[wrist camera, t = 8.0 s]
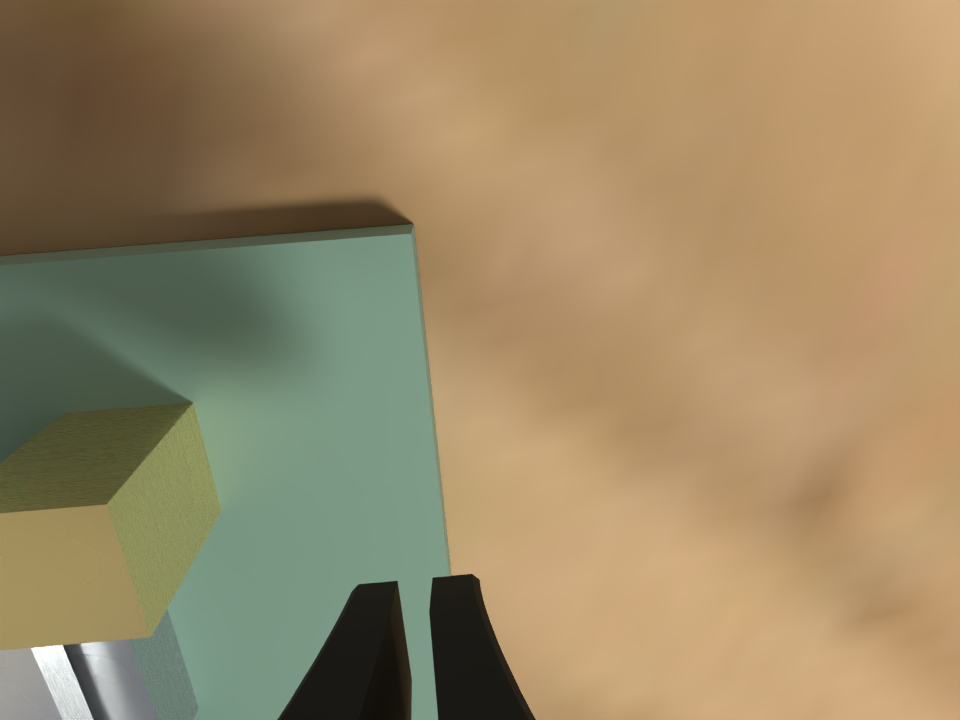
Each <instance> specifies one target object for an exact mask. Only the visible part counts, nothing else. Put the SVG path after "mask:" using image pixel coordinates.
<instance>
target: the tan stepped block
mask: <svg viewBox="0 0 960 720" xmlns="http://www.w3.org/2000/svg"><path fill="white" fill-rule="evenodd" d="M220 513H221V507H220V503H219V499H218V495H217V491H216V487H215V484H214V480H213V476H212V472H211V468H210V464H209V461H208V457H207V453H206V449H205V445H204V441H203V437H202V434H201V430H200V426H199V422H198V418H197V414H196V410H195V407H194V403H181V404H169V405H156V406H144V407H132V408H119V409H107V410H95V411H83V412H70V413H63V414H61V415H60V416H59V417H58V418H56V419H55V420H54V421H53V422H51V423H50V424H49V425H48V426H46V427H45V428H44V429H43V430H41V431H40V432H39V433H38V434H37V435H35V436H34V437H33V438H32V439H30V440H29V441H28V442H27V443H25V444H24V445H23V446H22V447H20V448H19V449H18V450H17V451H15V452H14V453H13V454H12V455H10V456H9V457H8V458H7V459H5V460H4V461H3V462H2V463H0V651H1V650H12V649H23V648H35V647H46V646H58V645H69V644H81V643H92V642H103V641H115V640H126V639H138V638H149V637H152V635H153V633H154V631H155V630H156V628H157V626H158V624H159V622H160V621H161V619H162V617H163V615H164V613H165V612H166V610H167V608H168V606H169V604H170V603H171V601H172V599H173V597H174V595H175V594H176V592H177V590H178V588H179V586H180V585H181V583H182V581H183V579H184V577H185V576H186V574H187V572H188V570H189V568H190V567H191V565H192V563H193V561H194V560H195V558H196V556H197V554H198V552H199V551H200V549H201V547H202V545H203V543H204V542H205V540H206V538H207V536H208V534H209V533H210V531H211V529H212V527H213V525H214V524H215V522H216V520H217V518H218V516H219V515H220Z"/></svg>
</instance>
